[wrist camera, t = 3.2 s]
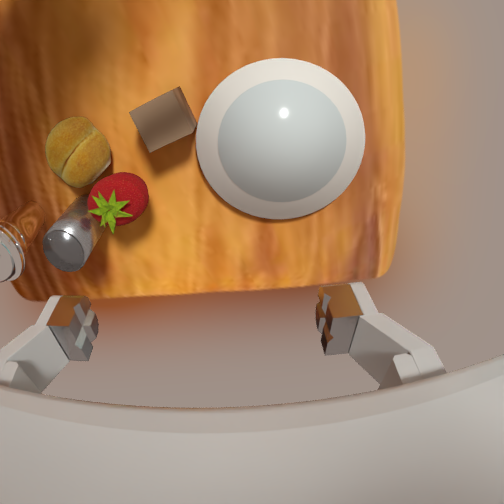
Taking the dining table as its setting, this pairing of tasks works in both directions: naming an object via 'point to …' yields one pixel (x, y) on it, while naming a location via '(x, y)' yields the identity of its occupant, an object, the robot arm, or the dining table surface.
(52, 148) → the bread roll
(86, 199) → the drinking glass
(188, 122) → the walnut block
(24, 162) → the dining table surface
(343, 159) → the plate
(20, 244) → the cup with straw
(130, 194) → the strawberry
